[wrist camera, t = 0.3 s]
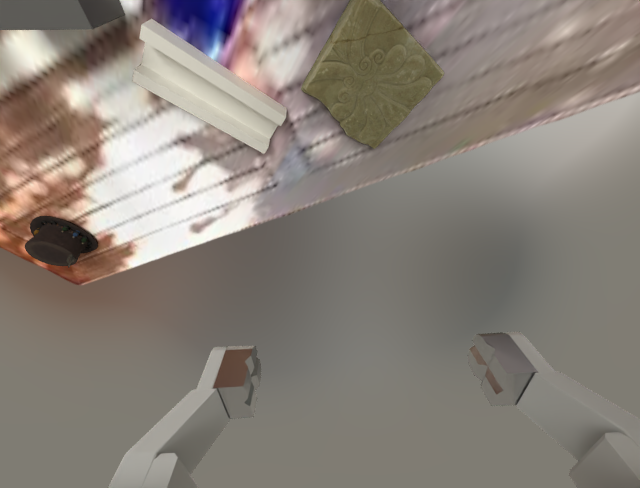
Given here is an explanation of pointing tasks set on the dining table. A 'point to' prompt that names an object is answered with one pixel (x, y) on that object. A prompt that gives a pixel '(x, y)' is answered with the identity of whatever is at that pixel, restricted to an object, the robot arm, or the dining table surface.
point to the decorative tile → (371, 72)
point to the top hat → (58, 241)
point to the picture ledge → (205, 88)
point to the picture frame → (57, 14)
